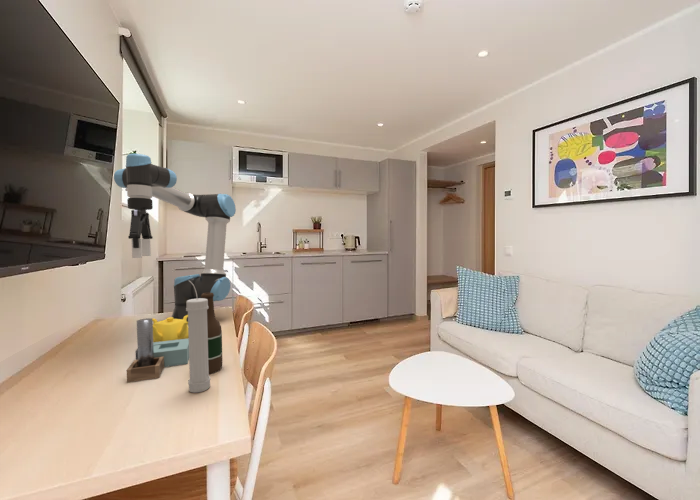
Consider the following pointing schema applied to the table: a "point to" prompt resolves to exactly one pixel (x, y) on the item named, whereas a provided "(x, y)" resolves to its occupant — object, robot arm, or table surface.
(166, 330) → the teapot
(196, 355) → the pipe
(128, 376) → the brown wooden tray
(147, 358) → the cylinder
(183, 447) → the table surface
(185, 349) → the chuck block
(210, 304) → the beer bottle
